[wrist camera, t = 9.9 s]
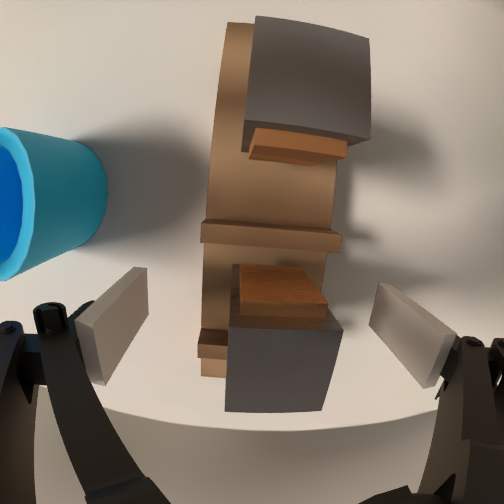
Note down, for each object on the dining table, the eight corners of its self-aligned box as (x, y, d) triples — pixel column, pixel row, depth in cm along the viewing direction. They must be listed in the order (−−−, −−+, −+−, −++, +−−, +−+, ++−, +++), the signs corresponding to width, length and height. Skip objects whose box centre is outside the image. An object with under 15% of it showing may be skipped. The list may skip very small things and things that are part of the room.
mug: (111, 136, 17) (42, 113, 9) (108, 252, 18) (42, 291, 11) (2, 152, 16) (-64, 150, 8) (2, 244, 18) (-61, 268, 10)
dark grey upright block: (232, 253, 17) (229, 310, 9) (299, 258, 17) (346, 314, 9) (228, 323, 18) (224, 411, 10) (290, 326, 18) (321, 410, 10)
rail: (228, 35, 15) (224, -61, 6) (331, 50, 16) (393, -27, 6) (203, 360, 21) (187, 464, 11) (298, 364, 21) (330, 463, 11)
